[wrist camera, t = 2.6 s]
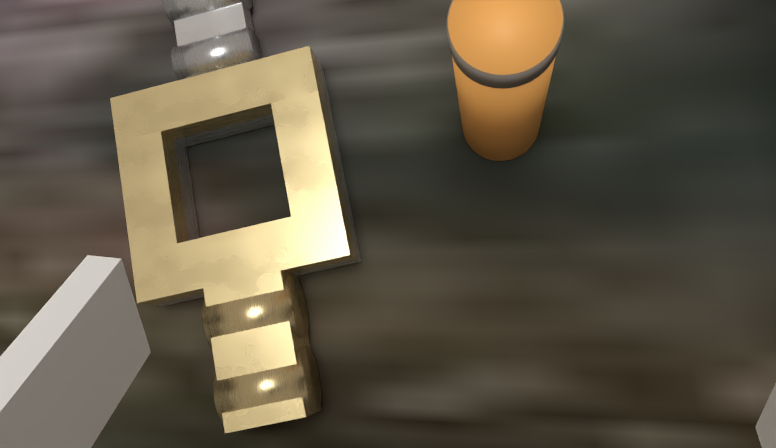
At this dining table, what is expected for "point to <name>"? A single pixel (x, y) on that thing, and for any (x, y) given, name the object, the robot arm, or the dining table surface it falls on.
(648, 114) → the dining table surface
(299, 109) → the square loop key
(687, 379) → the dining table surface
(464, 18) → the orange pin
